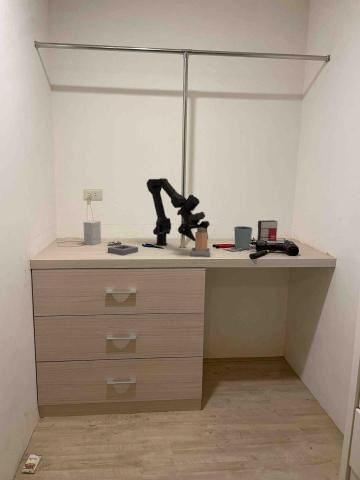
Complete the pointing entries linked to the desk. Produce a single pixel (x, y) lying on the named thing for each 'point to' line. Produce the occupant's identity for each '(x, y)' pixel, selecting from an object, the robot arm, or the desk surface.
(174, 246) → the desk surface
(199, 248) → the plug
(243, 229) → the blue-grey cup
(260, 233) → the grey upright box
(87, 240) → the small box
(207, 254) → the tray
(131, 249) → the socket block
